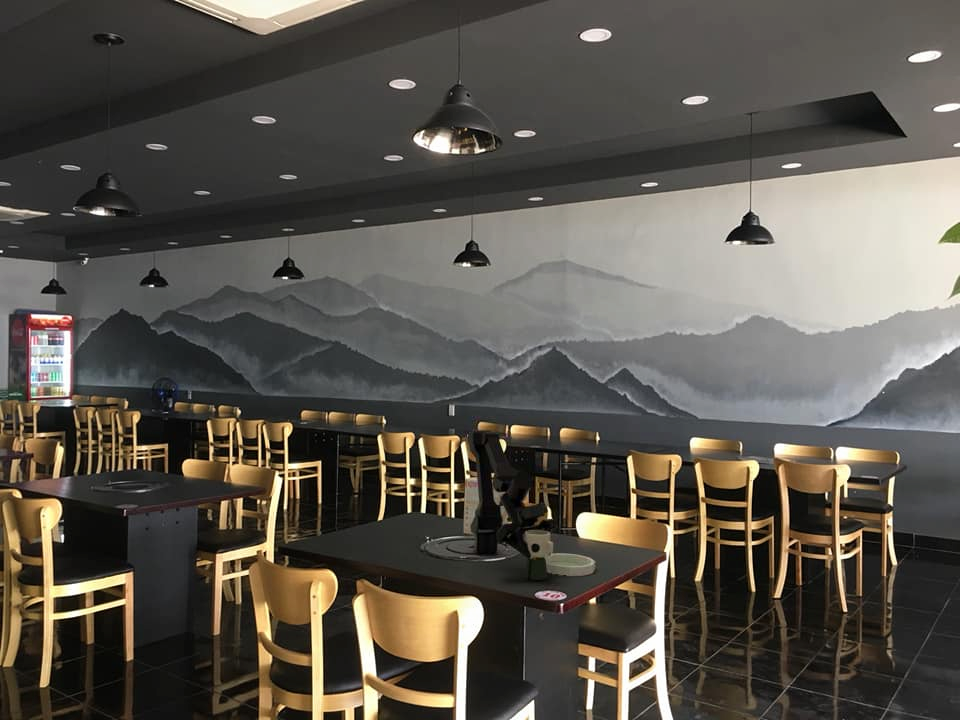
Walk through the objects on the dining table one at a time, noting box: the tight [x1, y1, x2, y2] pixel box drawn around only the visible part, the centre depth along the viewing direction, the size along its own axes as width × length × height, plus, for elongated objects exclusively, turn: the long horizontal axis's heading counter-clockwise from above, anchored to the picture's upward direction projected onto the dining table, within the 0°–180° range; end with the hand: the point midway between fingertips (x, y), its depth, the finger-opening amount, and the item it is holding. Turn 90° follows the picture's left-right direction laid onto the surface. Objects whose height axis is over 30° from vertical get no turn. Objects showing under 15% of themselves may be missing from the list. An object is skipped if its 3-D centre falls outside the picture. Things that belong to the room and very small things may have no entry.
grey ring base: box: [544, 553, 596, 577], centre depth 223 cm, size 16×16×2 cm
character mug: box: [523, 530, 554, 581], centre depth 211 cm, size 11×7×13 cm, turn 48°
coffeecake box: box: [462, 476, 510, 536], centre depth 266 cm, size 15×7×20 cm, turn 54°
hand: (539, 556), depth 209 cm, fingers closed on character mug, 7 cm apart
